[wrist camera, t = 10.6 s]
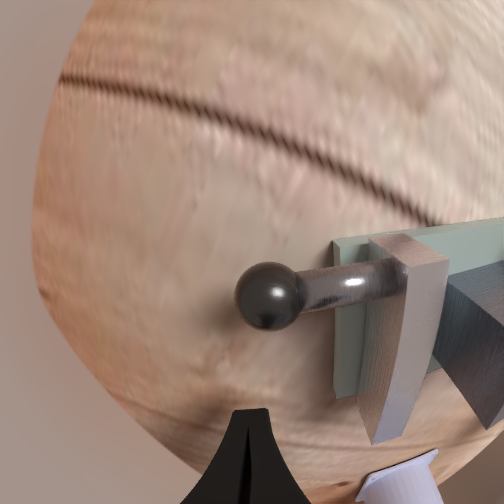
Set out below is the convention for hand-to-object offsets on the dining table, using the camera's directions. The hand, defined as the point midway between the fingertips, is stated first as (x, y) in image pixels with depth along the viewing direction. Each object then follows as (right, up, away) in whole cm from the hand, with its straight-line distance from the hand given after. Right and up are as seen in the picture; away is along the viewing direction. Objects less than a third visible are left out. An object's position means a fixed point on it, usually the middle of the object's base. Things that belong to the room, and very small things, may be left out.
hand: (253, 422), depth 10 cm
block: (+11, +4, 0) cm, 12 cm away
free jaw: (+3, +3, +1) cm, 5 cm away
